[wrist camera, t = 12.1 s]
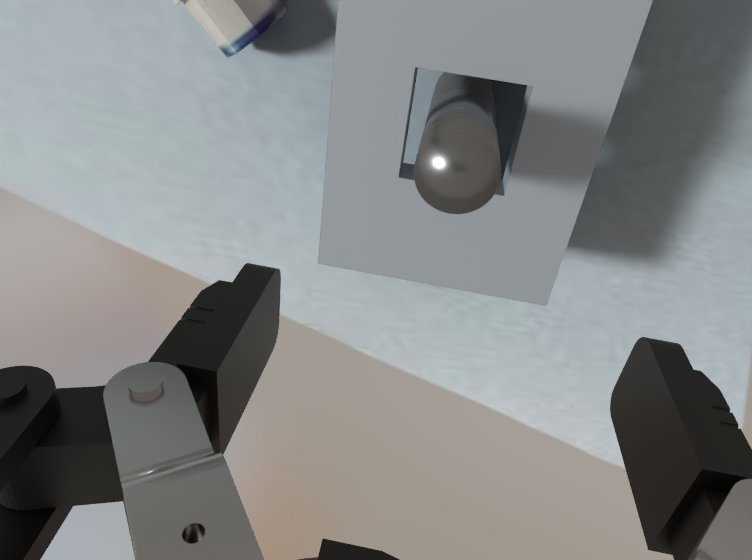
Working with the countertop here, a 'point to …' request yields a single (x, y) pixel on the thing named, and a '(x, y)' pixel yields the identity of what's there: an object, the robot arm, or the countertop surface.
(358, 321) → the countertop surface
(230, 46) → the beige toy mallet
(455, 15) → the bridge
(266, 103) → the countertop surface
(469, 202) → the tall pin
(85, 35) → the countertop surface
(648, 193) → the countertop surface
